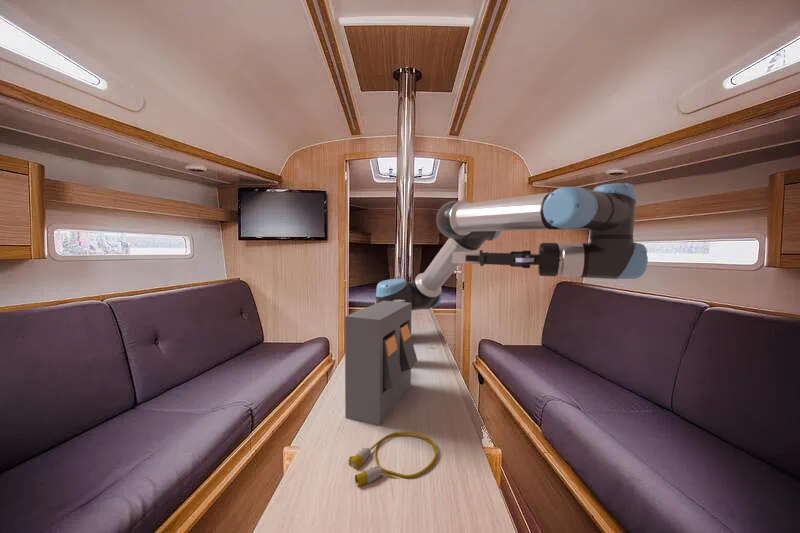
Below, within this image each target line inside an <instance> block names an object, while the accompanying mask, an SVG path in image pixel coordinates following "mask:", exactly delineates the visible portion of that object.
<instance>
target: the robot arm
mask: <svg viewBox="0 0 800 533" xmlns="http://www.w3.org/2000/svg"><path fill="white" fill-rule="evenodd" d="M636 198H637V197H636V187H635V186H634V184H631V183H626V182H625V183H622V182H621V183H620V182H617V183H616V182H615V183H608V184H602V185H597V186H595V187H594V188H593V189H588V188H584V187H581V186H563V187H562V186H561V187H559V188H556V189H555V190H553V191H551V192H544V193H537V194H529V195H522V196H521V195H520V196H513V197H506V198H499V199H491V200H490V199H489V200H484V201H474V202H473V201H472V202H471V201H468V200H463V199H462V200H461V199H460V200H451V201H448V202H446V203H444V204H443V205H442V206H441V207H440V208H439V209H438V211H437V213H436V221H435V222H436V226H437V229H438V230H439V232H440V233H441V234H442V235H443V236H445V237H446V238H448V239H447V240H446V242H445V244H443V246H442V247H441V248H440V250H439V251H438V253H437V254H436V255H435V256H434V258H433V259H432V261H431V262H430V264H429V265H428V267H427V268H426V269H425V270H424V272H422V273H418V274H417V276H415V278H414V279H413V280H412V281H407V280H406V279H404V278H389V279H386V280H385V279H384V280H382V281H379V282H378V283H377V285H376V292H375V297H376V298H375V300H376V301H375V304H377V303H379V302H381V301H393V300H405V302H408V303H412V311H418V310H429V309H433V308H435V307H437V306H438V305H439V304H440V302H441V300H442V296H443V291H442V286H443V285H444V284H445V283H446V281H447V280H448V279H450V276H451V275H452V274H454V272H455V270H457V268H458V267H459V266H460V265H461V264H471V265H472V264H473V265H475V264H476V265H480V267H484V265H494V266H495V265H497V266H498V265H499V266H510V267H512V268H514V267H517V268H519V267H520V268H523V269H531V266H538V267H537V270H538V274H539V276H540V277H557V276H558V275H559V276H560V277H562V278H563V277H565V278H566V277H567V278H569V279H570V280H572V281H574V280H575V279H576V278H588V279H589V278H590V279H604V280H605V279H606V280H607V279H608V280H625V279H626V280H636V279H639V278H641V277H642V276H644V274H645V272H646V270H647V267H648V260H649V259H648V258H649V257H648V250H647V247H646V246H645V245H644V244H642V243H638V242H635V240H634V227H635V226H634V225H635V214H636V205H637V200H636ZM547 230H554V231H556V230H557V231H558V230H567V231H568V230H579V231H580V230H585V231H589V240H590V241H589V242H587V243H586V242H561V243H560V244H558V243H557V242H541V243H540V244H539V247H538V253H537V254H536V253H534V254H533V253H531V251H532V250H527V249H526V250H522V251H514V250H513V251H510V252H487V251H485V252H483V249H480V248H481V246H482V245H483V244H484V243H485V242H486V241H488V242H489V241H493V240H496V238H498V237H499V236H500V234H501V233H502V232H504V231H505V232H507V231H547ZM478 250H479V252H478ZM476 251H477V252H476Z"/></svg>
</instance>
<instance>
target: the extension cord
mask: <svg viewBox="0 0 800 533" xmlns="http://www.w3.org/2000/svg"><path fill="white" fill-rule="evenodd" d="M391 437H411V438H416V439H420V440H424V441H425V442H427V443H428V444H429V445H430V446H431V447H432V449H433V452H434V456H433V459H432V460H431V462H429V464H428V465H427V466H426V467H424V468H422V470H420V471H418V472H415V473H412V474H405V473H404V474H402V473H399V472H396V471H393V470H388V469H386V468H383V466H381V465H380V463H379V461H378V454H377V452H378V448H379V446H380V445H381V443H382V442H383V441H384V440H386V439H389V438H391ZM374 448H375V451H374V460H375V463H376V464H375V465H376V466H374V467H370V468H368V469H365V470H363V471H361V472H360V473H357V474H355V475H354V481H355V484H357V485H356V486H357V488H359V487H361V486H362V485H364V484H366V485H368V484H369V483H372V482H374V481H376V480H377V479H378V478H380V477H382V475H385V476H387V477H388V478H390V479H394V480H400V478H399V477H401V478H405V479H413V478H417V477H419V476H421V475H423V474H424V473H426V472H427V471H429V470H430V469H431V468H433V466H434V465H435V464H436V461H437V456H438V447H437V445H436V443H435V442H434V440H432V439H431V438H430V437H428V436H426V435H424V434H421V433H417V432H413V431H395V432H392V433H389V434H386V435H385V436H383V437H382V438H380V439H379V440H378V441H376V443H375V444H373V445H372V446H371V447H370V448H369V447H365V448H362V450H359V451H358V452H357V453H356V454H355V455H353V456H351V455H350V456H349V458H348V460H347V461H348V465H349V467H351V468H353V469H354V470H359V468H360V467H362V465H364V463H365V462H366V460H367V459H368V458H369V456H370V455H371V453H372V450H373V449H374ZM394 475H395V476H394ZM396 476H398V477H396Z"/></svg>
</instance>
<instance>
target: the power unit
mask: <svg viewBox="0 0 800 533" xmlns="http://www.w3.org/2000/svg"><path fill="white" fill-rule="evenodd" d="M412 311H413V310H412V303H408V302H395V301H381V302H379V303H377V304H376V303H373V304H372V305H369V306H367V307H365V308H362V309H359V310H357V311H355V312H353V313H349V314H347V315H345V316H344V342H345V343H344V353H345V354H344V362H345V363H344V365H345V367H344V371H345V372H344V376H345V377H344V378H345V379H344V382H345V383H344V386H345V388H344V389H345V394H344V396H345V397H344V399H345V401H344V402H345V404H344V405H345V406H344V407H345V411H344V412H345V417H344V418H345V419H350V420H354V421H358V422H362V423H366V424H371V425H374V426H381V425H382V423H383V422H384V420H386V418H387V416H389V414H390V413H391V412H392V410H393V409H394V408H395V406H396V405H397V404H398V402H399V401H400V400H401V398H402V397H403V395H405V393H406V391H407V390H408V389H409V388H410V386H411V385H412V381H411V380H412V368H411V369H410V370H406V371H402V367H401V372H402V378H401V379H400V381H399V382H398V383H397V384H396V385H395V386H394V388H393V389H384V387H383V337H384V336H386V335H387V334H393V333H394V335H395V339H396V344H397V350H398V356H399V361H400V325H402V324H405V323H407V325H408V328H409V332H410V335H411V336H412V313H413V312H412ZM400 366H401V364H400Z"/></svg>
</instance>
